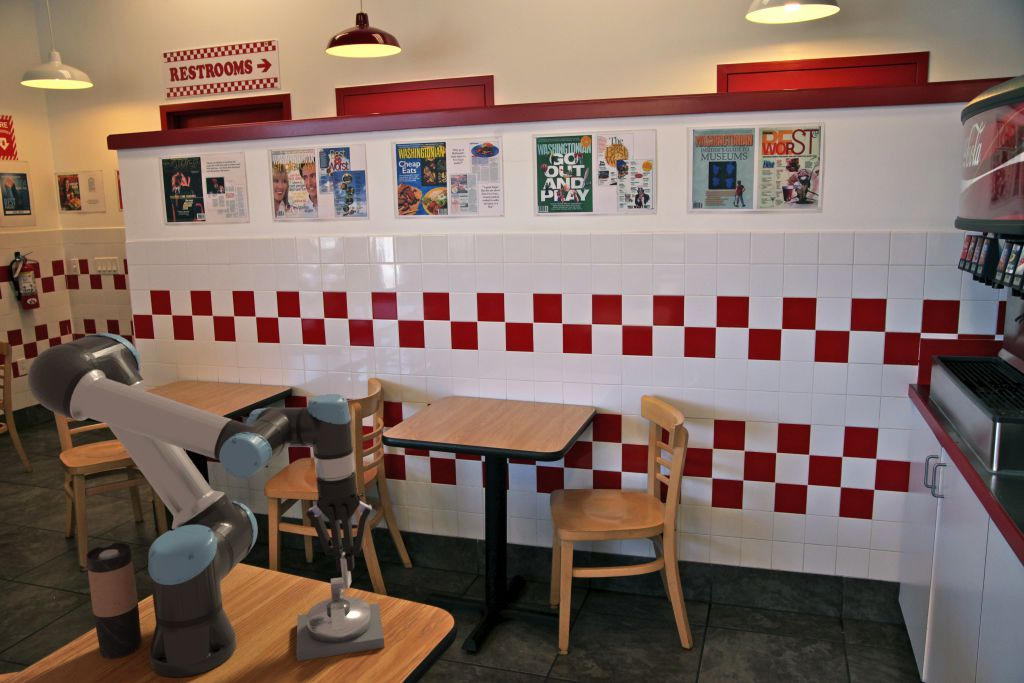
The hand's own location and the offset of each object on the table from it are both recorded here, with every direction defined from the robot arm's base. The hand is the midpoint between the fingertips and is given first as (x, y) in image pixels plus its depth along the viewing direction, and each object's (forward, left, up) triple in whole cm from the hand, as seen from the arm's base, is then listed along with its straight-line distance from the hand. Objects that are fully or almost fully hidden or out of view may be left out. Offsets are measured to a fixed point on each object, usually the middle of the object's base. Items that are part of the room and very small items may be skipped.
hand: (347, 585), depth 158 cm
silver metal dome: (-2, -5, -5) cm, 8 cm away
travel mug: (-43, +2, -8) cm, 44 cm away
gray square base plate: (-2, -5, -8) cm, 9 cm away
